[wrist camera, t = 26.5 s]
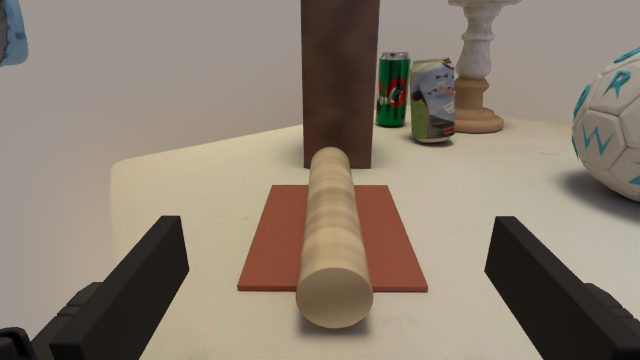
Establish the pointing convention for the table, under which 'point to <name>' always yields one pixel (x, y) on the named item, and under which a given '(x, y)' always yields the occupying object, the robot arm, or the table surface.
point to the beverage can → (432, 99)
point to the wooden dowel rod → (333, 247)
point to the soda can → (392, 88)
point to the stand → (339, 77)
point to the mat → (287, 232)
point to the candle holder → (476, 67)
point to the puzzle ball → (611, 126)
